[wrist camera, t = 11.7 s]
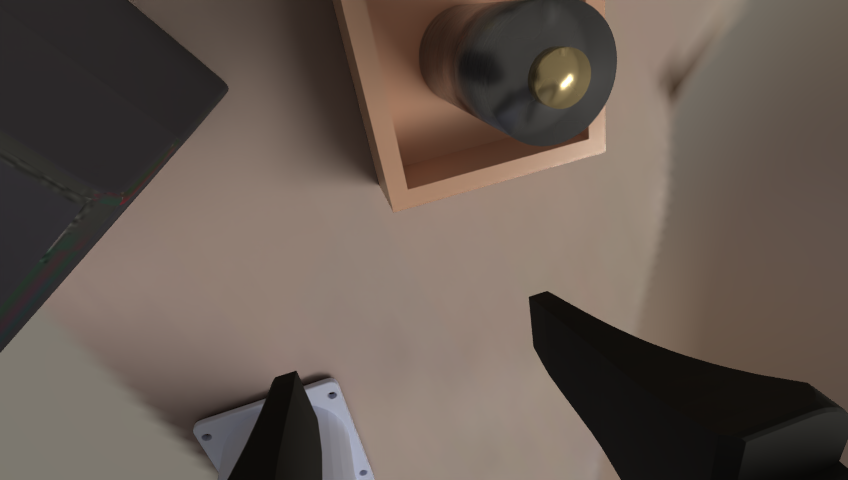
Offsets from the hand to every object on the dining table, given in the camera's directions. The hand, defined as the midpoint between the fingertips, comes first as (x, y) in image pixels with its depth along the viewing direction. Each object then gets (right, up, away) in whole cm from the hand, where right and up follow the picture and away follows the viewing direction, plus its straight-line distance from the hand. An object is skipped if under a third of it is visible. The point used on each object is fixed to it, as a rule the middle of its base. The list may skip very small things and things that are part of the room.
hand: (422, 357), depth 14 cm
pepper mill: (+2, +12, +6) cm, 13 cm away
